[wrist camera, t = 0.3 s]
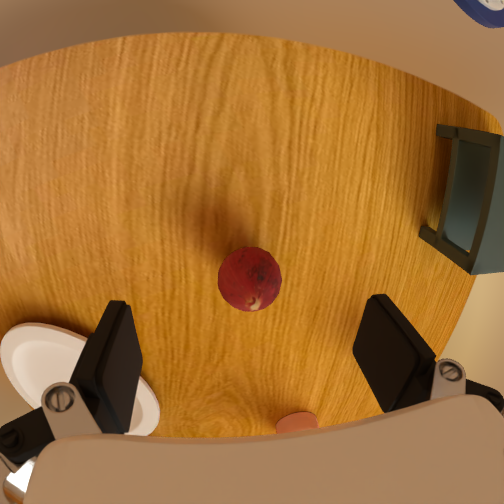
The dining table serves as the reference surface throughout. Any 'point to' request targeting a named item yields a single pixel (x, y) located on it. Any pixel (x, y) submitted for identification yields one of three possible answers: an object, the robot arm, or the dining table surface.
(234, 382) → the dining table surface
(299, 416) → the salt shaker
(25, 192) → the dining table surface
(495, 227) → the shelf stand
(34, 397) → the plate
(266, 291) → the onion
